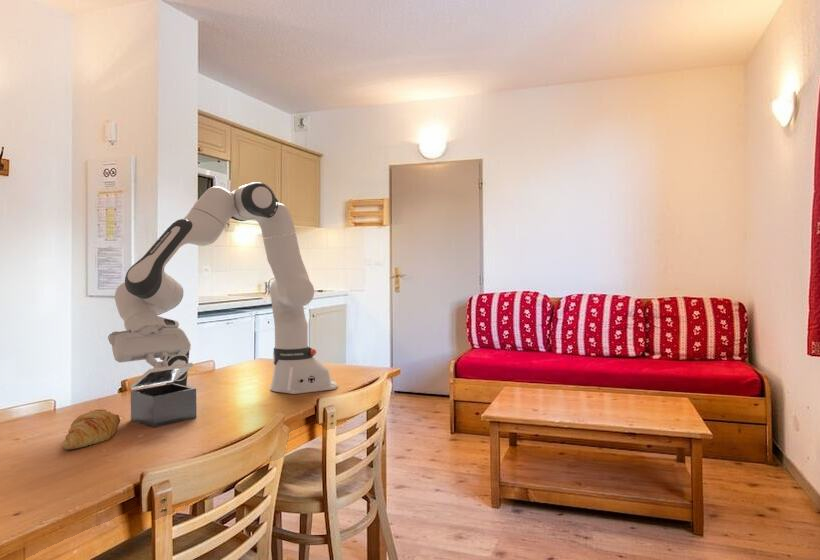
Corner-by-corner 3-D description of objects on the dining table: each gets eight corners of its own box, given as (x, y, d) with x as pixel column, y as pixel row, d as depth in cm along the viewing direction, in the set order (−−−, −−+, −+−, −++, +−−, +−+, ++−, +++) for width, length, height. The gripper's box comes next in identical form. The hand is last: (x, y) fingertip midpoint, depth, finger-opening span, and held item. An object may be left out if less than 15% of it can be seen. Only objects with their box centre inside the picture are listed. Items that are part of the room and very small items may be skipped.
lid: (130, 389, 143) (129, 383, 144) (173, 382, 153) (171, 376, 153) (150, 372, 137) (148, 366, 137) (193, 366, 147) (191, 360, 147)
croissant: (79, 468, 118) (96, 437, 118) (37, 448, 117) (54, 416, 117) (126, 436, 139) (140, 410, 139) (91, 419, 138) (105, 392, 138)
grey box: (131, 419, 143) (130, 390, 143) (173, 410, 153) (172, 383, 153) (153, 427, 136) (153, 396, 136) (196, 417, 146) (196, 388, 146)
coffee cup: (196, 384, 190) (195, 342, 189) (182, 390, 180) (181, 346, 180) (170, 383, 190) (170, 342, 190) (155, 389, 181) (155, 345, 181)
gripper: (109, 325, 141) (126, 366, 135) (182, 320, 157) (200, 357, 151) (102, 340, 143) (118, 381, 138) (174, 333, 160) (191, 370, 154)
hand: (161, 368), depth 144 cm, fingers closed, pressing on lid
